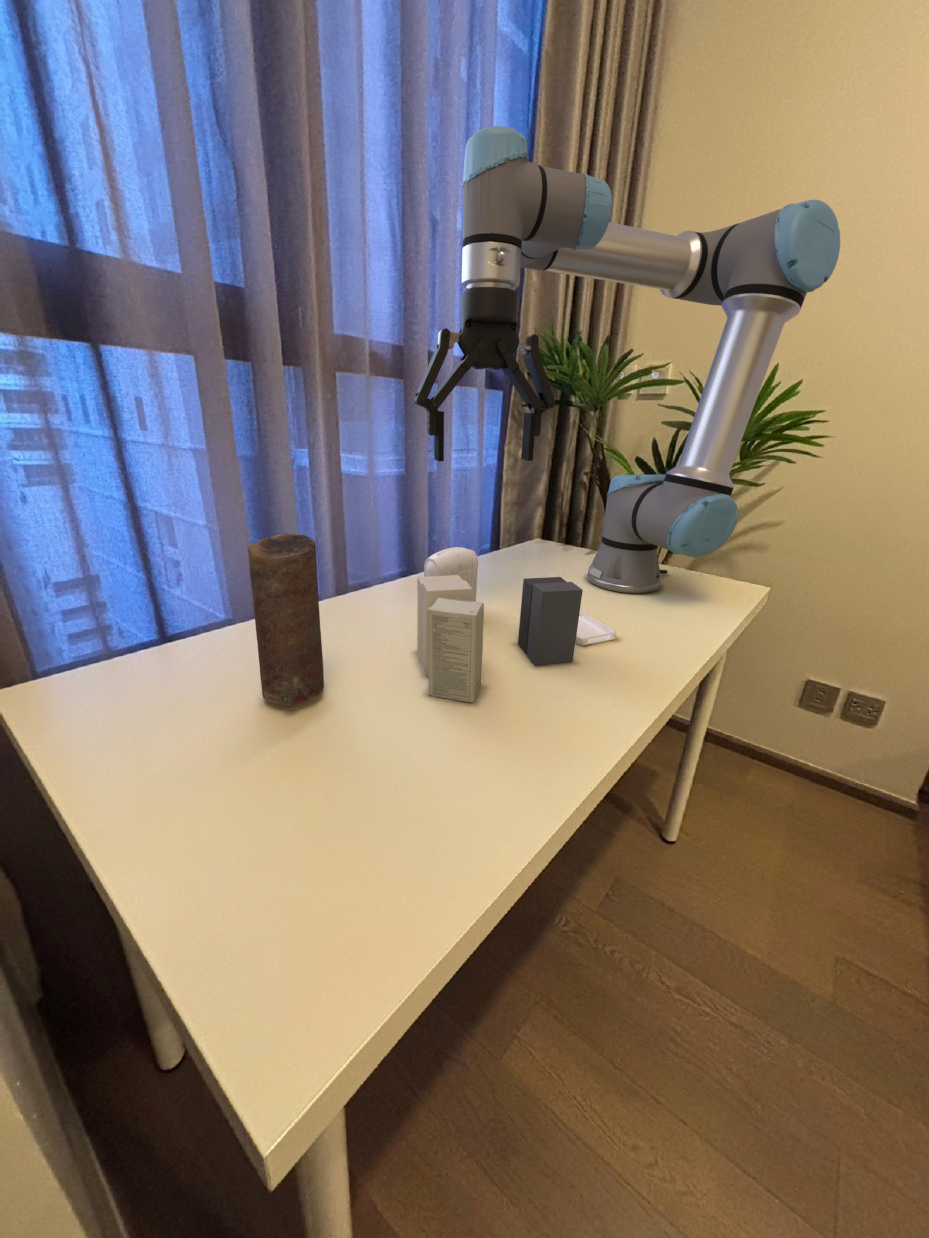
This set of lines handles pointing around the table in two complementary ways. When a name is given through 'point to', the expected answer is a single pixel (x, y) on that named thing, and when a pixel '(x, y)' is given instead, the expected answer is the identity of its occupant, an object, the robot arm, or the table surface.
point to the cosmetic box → (455, 648)
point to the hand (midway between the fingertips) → (483, 460)
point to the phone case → (592, 631)
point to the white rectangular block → (427, 595)
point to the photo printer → (454, 565)
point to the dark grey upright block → (549, 620)
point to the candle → (287, 618)
